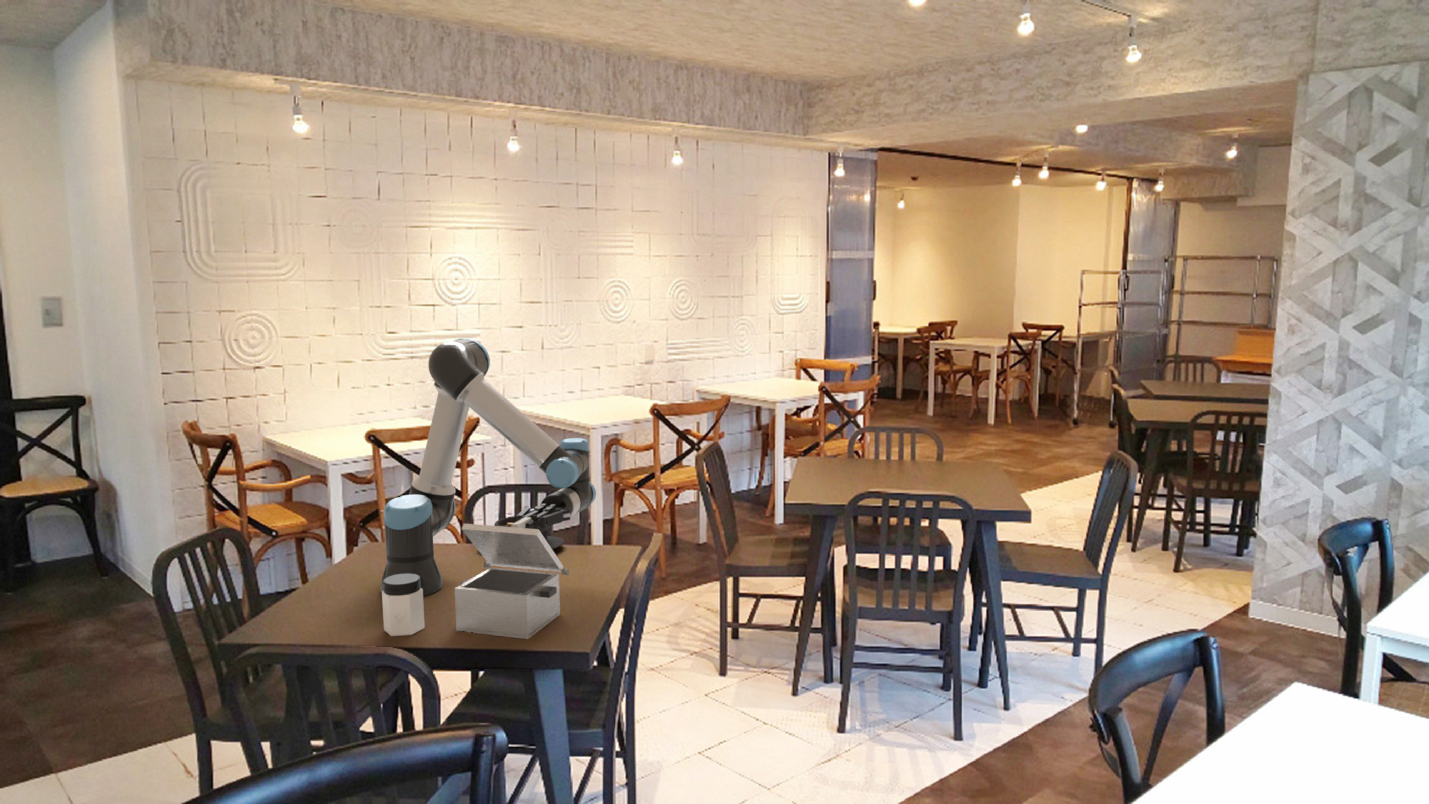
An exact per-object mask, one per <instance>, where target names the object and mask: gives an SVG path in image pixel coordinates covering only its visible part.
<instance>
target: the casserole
mask: <svg viewBox="0 0 1429 804" xmlns="http://www.w3.org/2000/svg"><path fill="white" fill-rule="evenodd" d="M515 522H517V515H513V516H509V517H508V516H507V517H503V518H500V519H498V520H496V521H495V523H494V525H493V526H501V525H509V526H512V524H513V523H515ZM532 529H539V531H540V532H541V534H542V535H543V537H544V538H545V540H546V541H547V543H548V544H549V546H550V547H551V549H552V550H555V549H557V548H559V547H561V546H563V545H564V543H565V539H563V537H560V536H559V537H558V536H550V535H548V534H549V531H550V529H551V526H548V527H545V528H541V526H539V527H538V528H532Z"/></svg>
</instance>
